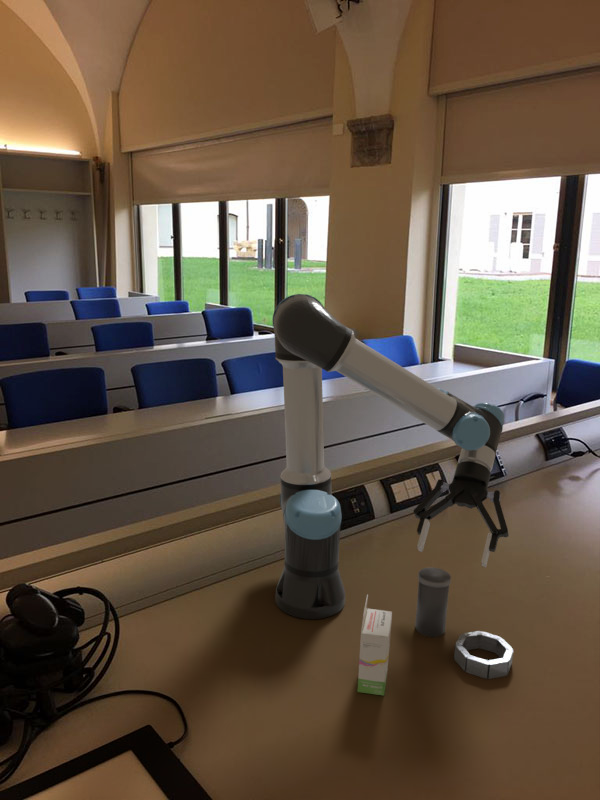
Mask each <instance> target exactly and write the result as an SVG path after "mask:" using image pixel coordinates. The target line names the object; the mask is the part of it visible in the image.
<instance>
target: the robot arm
mask: <svg viewBox="0 0 600 800" xmlns="http://www.w3.org/2000/svg"><path fill="white" fill-rule="evenodd" d="M272 327H273V331H274V333H273V334H274V351H275V353H274V355H275V360H276V361H278V363H279V364H281V365H282V377H283V380H282V382H283V383H282V384H283V404H284V406H283V407H284V430H285V456H286V458H285V459H286V467H285V469H284V470H282V472H281V473H280V494H279V504H280V505H279V506H280V508H281V512H282V514H281V515H282V518H283V519H282V520H283V525H284V526H283V527H284V564H283V565H284V566H283V569H282V572H281V575H280V577H279V580H278V582H277V585H276V588H275V598H274V599H275V604H276V606H277V607H278V608H279V609H280V611H282V612H283V613H285V614H287V615H290V616H292V617H293V618H294V617H295V618H299V619H306V620H319V619H326V618H329V617H332V616H334V615H336V614H338V613H340V612H341V611H342V610H343V609H344V607H345V604H346V590H345V586H344V584H343V580H342V576H341V574H340V573H341V572H340V571H339V569H340V568H339V563H340V562H339V561H340V541H341V540H340V538H341V524H342V519H343V518H342V509H341V508H342V507H341V504H340V502H339V500H338V499H337V498H336V497H335V496H333V494H332V473H331V471H330V470H329V469H328V468H327V467H326V466H325V448H324V447H325V446H324V445H325V444H324V442H325V441H324V409H323V408H324V405H323V404H324V402H323V401H324V400H323V399H324V397H323V396H324V395H323V370H324V371H326V372H327V373H330V372H337V373H339V374H341V375H342V376H344V377H345V378H347V379H349V380H351V381H352V382H354V383H356V384H357V385H359V386H361V387H362V388H364V389H366V390H368V391H369V392H371V393H372V394H375V395H376V396H378V397H379V398H381V399H383V400H385V401H386V402H388V403H389V404H391V405H393V406H395V407H396V408H398V409H400V410H402V411H403V412H405V413H406V414H407V415H410V416H411V417H413V418H415V419H417V420H419V421H420V422H422V423H423V424H425V425H427V426H429V427H430V428H432V429H433V430H435V431H437V432H438V433H440V434H442V435H443V436H445V437H447V438H448V439H450V440H451V441H453V442H454V444H455V445H457V447H460V448H461V450H460V453H459V456H458V457H459V458H458V461H457V462H458V464H456V468H455V470H454V475H453V478H452V479H453V480H452V481H451V483H449V482H448V483H447V482H444V481H443V479H438V480H437V482H436V484H435V486H434V488H432V490H431V491H430V492H429V493H428V494H427V495H426V496H425V498H423V500H422V501H421V502H420V503H419V504H418V505H416V507H415V508H414V509H413V511H412V512H413V514H414V517H415V518H416V519H418V520H419V522H418V526H417V529H416V532H417V534H418V535H419V538H418V542H417V545H416V547H417V550H418V551H419V552H421V553H422V552H423V551H424V547H425V545H426V544H425V543H426V541H427V537H428V534H429V530H430V527H431V523H430V520H432V519H433V518H435V517H436V516H438V515H439V514H441V513H442V512H444V511H445V510H447V509H448V508H450V507H453V506H454V505H457V506H458V507H466V508H468V509H475V508H476V509H477V511H478V513H479V514H480V515H481V517H482V519H483V521H484V523H485V524H486V527H487V528H488V529H489V531H490V532H488V533H487V536H486V539H485V540H486V541H485V545H484V548H483V553H482V558H481V561H480V562H481V566H482V567H483V568H487V566H488V562H489V561H488V560H489V556H490V554H491V553H490V552H492V553H495V552H496V550H497V545H498V540H499V539H500V538H508V537H509V535H510V534H509V529H508V525H507V522H506V519H505V515H504V512H503V507H502V506H501V505H502V504H501V492H500V491H499V490H494V491H488V487H489V482H490V478H491V475H492V473H491V471H492V470H493V467H494V464H495V463H494V462H495V458H496V455H497V450H498V447H499V442H500V439H501V436H502V435H501V434H502V432H503V427H504V423H505V422H504V421H505V414H504V411H503V410H502V409H501V408H500V407H499V406H497V405H495V404H490V403H488V402H479V403H476V404H475V405H474V406H473V405H472V404H469V403H468V402H466V401H464V400H463V399H461V398H459V397H458V396H455V395H454V394H452V393H450V392H449V391H447V390H444V389H442V388H440V387H435V386H434V385H432V384H430V383H429V382H427V381H426V380H425V379H422V378H421V377H419V376H418V375H416V374H414V373H412V372H411V371H409V370H408V369H406V368H405V367H403V366H401V365H399V364H398V363H396V362H395V361H393V360H392V359H390V358H388V357H387V356H385V355H383V354H382V353H380V352H379V351H377V350H375V349H373V348H372V347H370V346H369V345H367V344H366V343H364V342H362V341H361V340H359V339H357V338H356V336H355V333H354V330H352V329H351V328H349V327H347V325H344V324H343V323H341V321H339V320H338V319H337V318H336V317H334V316H333V314H332V313H330V312H329V311H328V309H327V308H326V307H325V306H324V305H323V303H321V301H320V300H319V299H317V298H316V297H314V296H312V295H309V294H306V293H305V294H302V293H295V294H292V295H289V296H287V297H285V298H283V299H282V300H281V301H280V302H279V303H278V304H277V305H276V307H275V309H274V311H273V314H272ZM447 490H448V491H449V493H448V494H447V495H446V496H445V497H444V498H443V499H441V500H440V501H438V502H437V503H436V504H434V503H435V502H436V500H438V498H439V497H440V496H441V495H442V493H445V492H446V491H447ZM486 499H489V500H490V502H491V503H493V505H494V509H495V514H496V516H497V521H498V523H499V527H500V528H497V526H496V524H495V522H494V521H493V519H492V517H491V515H490V514H489V512H488V510H487V509H486V508H485V505H484V504H483V502H484V501H485V500H486ZM433 504H434V505H433Z"/></svg>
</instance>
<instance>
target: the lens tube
mask: <svg viewBox="0 0 600 800" xmlns="http://www.w3.org/2000/svg"><path fill="white" fill-rule="evenodd" d="M417 579H418V588H417V599H416V613H415V623H414V624H415V625H414V626H415V630H416V631H417V632H418V633H419V634H420V635H423V636H426V637H429V638H438V637H441V636H443V635H444V634H445V633H446V625H447V624H446V623H447V613H448V611H447V610H448V602H449V592H450V591H449V590H450V585H451V583H452V582H451V581H452V580H451V579H452V576H451V574H450V573H449V572H448V571H446V570H444V569H443V568H439V567H424V568H422V569H420V570H419V571H418V574H417Z"/></svg>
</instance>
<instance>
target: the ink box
mask: <svg viewBox="0 0 600 800" xmlns="http://www.w3.org/2000/svg"><path fill="white" fill-rule="evenodd" d="M368 597H369V594H366V599H365V603H364V608H363V613H362V621H361V622H362V623H361V628H360V645H359V657H358V658H359V659H358V660H359V661H358V676H357V677H358V678H357V693H363V694H367V695H368V694H370V695H376V696H385V691H386V685H387V676H388V669H389V659H390V657H389V656H390V645H391V633H392V622H393V621H392V620H393V619H392V618H393V611H391V610H390V611H389V610H383V609H375V608H374V609H373V608H368V607H367V606H368V599H369V598H368Z"/></svg>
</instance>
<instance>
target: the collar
mask: <svg viewBox="0 0 600 800" xmlns="http://www.w3.org/2000/svg"><path fill="white" fill-rule="evenodd" d="M477 649H481V650H484V651H488V652H492V653H494V654H496V655H497V656H498V658H494V659H489V660H488V659H484V658H482V657H478V656H474V655H471V654H470V653H469V651H470V650H477ZM513 656H514V648H512V646H511V645H510V644H509V643H508V642H507V641H506V640H505V639H504V638H503V637H501V636H498V635H496V634H492V633H490V632H486V631H481V630H476V631H470V632H464V633H461V634H460V635H459V637H458V638H457V641H456V642H455V645H454V655H453V660H454V661H455V662H456V663H457V664H458V666H459V667H460V668H461V669H462V670H463V672H465V673H466V674H469V675H473V676H477V677H478V678H482V679H486V680H487V679H488V680H491V679H497V678H498V679H499V678H502V677H506V676H508V675H509V672H510V670H511V667H512V665H513Z"/></svg>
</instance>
